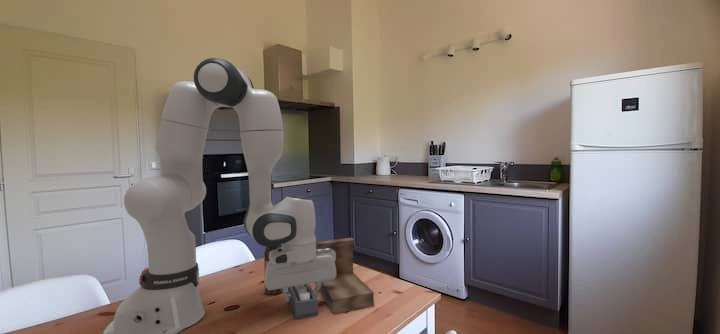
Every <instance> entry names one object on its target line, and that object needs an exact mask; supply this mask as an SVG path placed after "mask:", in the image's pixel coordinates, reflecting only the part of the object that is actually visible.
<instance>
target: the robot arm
mask: <svg viewBox="0 0 720 334" xmlns="http://www.w3.org/2000/svg"><path fill="white" fill-rule="evenodd" d="M215 110H235V111H236V113H237V116H238V119H239V132H240V133H239V135H240V144H241V149H242V153H243V157H244V161H245V165H246V169H247V176H248V179H247V181H248V199H249V201H248V202H249V203H248V207H247V209H246V213H245V215H244V218H243V227H244V230H245V232H246V234H248V235H249V236H250V237H251V238H252V239H253V240H254V241H255V242H256V243H257V244H258V245H260V246H262V247H265V248H266V247H272V246H276V245H279V244H281V247H279V248H277V249H275V250H272V251H270V252H269V260H270V261H269V262H268V263H267V266H266V271H265V278H264V288H265V287H266V288H267V289H268V290H275V289H281V288H282V291H283V292H282V293H283V295H284V296H285V302H286V303H290V302H292V295H291V294H288V287H293V286H300V285H306V284H309V285H312V284H315V287H314V289H312V290H313V292H314V293H315V295H316V297H317V298H318V297H319V289H320V287H321V282H324V281H330V280H334V279H335V278H336V266H335V260H336V252H335V251H334V250H333V249H331V248H326V249H317V238H316V235H315V233H316V232H315V230H316V212H315V211H316V209H315V205H314V202H313V201H314V200H312V199H311V198H309V197H307V196H304V195H303V196H302V195H296V194H295V195H294V194H292V195H291V194H289V195H287V196H286V197H284V199H282V200H281V201H280V202H278V203H276V204H275V205H274V204H273V201H272V172H273V169H274V167H275V165H276V164H277V163H278V161H279V160H280V159H281V157H282V155H283V151H284V142H285V141H284V140H285V139H284V128H283V127H284V126H283V124H284V123H283V118H282V113H281V108H280V104H279V101H278V98H277V96H276V95H275V94H274V93H273V92H272V91H269V90H266V89H262V88H261V89H260V88H257V89H256V88H254V84H253V82H252V80H251V78H250V77H249V76H248V75H247V74H246V73H245V72H244V71H243V70H242V69H241V68H239V67H238V66H236V65H234V64H233V63H231V61H228V60H226V59H223V58H220V57H218V58H217V57H211V58H206V59H204V60H203V61H201V62H199V64H198V65H197V66H196V67H195V69H194V72H193V81H190V80H189V81H188V80H184V81H183V80H182V81H178V82H176V83H175V84H173V85H172V88H171V89H170V91H169V93H168V96H167V98H166V101H165V105H164V106H163V111H162V114H161V119H160V124H159V127H158V133H157V137H156V143H155V151H156V152H157V154H158V156H159V159H160V163H161V164H160V165H161V167H160V168H161V174H160V175H156V176H149V177H146V178H144V179H141V180H139V181H137V182H135V183H133V184H132V185H130V186H129V187H128V188H127V190H126V191H125V194H124V197H123V205H124V208H125V211H126V212H127V214H128V215H129V216H130V217H132V218H133V219H134V220H136V222H138V224H139V225H140V228H141V230H142V232H143V236H144V238H145V242H146V248H147V249H146V250H147V263H148V267H145V268H144V269H143V270H142V271H141V275H140V276H139V279H138V281H139V282H138V285H140V286H139V287H138V288H137V289H136V290H134V291H133V292H132V293H131V294H130V295H128V296H127V297H126V298H125V299H123V300H122V301H121V303H120V304H119V305H118V306H117V309H116V311H115V313H114V318H113V320H112V321H111V322H110V323H109V324H108V325H107V326H106V327H105V328H104V329H103V332H102V334H178V333H179V332H181V331H183V330H185V329H186V328H189V327H191V326H194V325H195V324H196V323H198V322H199V321H200V320H202V318H203V317H204V316H205V313H206V311H205V308H204V306H203V302H202V299H201V295H200V290H199V289H200V288H199V284H200V268H199V263H197V246H196V245H197V244H196V236H195V233H193V232H192V231H191V230H190V228H189V226H188V222H187V219H186V215H185V214H186V212H190V211H191V210H193V209H195V208H196V207H198V206H199V205H200V204H201V203H203V201H204V200H205V198H206V196H207V187H206V184H205V182H204V178H203V177H204V176H203V160H204V159H203V158H204V151H205V145H206V141H207V135H208V131H209V127H210V122H211V117H212V115H213V113H214V111H215ZM283 244H284V245H283Z"/></svg>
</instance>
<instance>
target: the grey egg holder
mask: <svg viewBox="0 0 720 334" xmlns="http://www.w3.org/2000/svg"><path fill="white" fill-rule="evenodd" d="M313 290H314V289H313V288H312V287H311V284H306V285H300V286H293V287H288V291H287V293H288V294H291V295H292V302H289V305H290V308H291V310H292V313H293V315H294V318H295V320H297V321H298V320H302V319H303V320H304V319H308V318H313V317H318V316H319V299H318V297H316V295H315V293H314V292H313Z"/></svg>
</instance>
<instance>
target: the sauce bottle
mask: <svg viewBox="0 0 720 334" xmlns="http://www.w3.org/2000/svg"><path fill="white" fill-rule="evenodd" d="M281 246H282V244H279V245H276V246H272V247H265V249H264V255H263V256H264V261H263V262H264V263H263V264H264V267H263V268H264V272H263V273H264V274H263V275H264V279H265V271H266V266H267V263H268V262H269V261H270V260H269V252H270V251H272V250H275V249H277V248H279V247H281ZM264 288H265V290H264V291H265V293H266V294H268V295H279V294H280V293H283V291H282V288H281V289H275V290H268V289H267V288H266V287H265V286H264Z"/></svg>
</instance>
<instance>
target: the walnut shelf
mask: <svg viewBox="0 0 720 334" xmlns="http://www.w3.org/2000/svg"><path fill="white" fill-rule="evenodd" d="M353 245H356V242H355V238H353V237H345V238H338V239H329V240H322V241H316V249H326V248H331V249H333V250H334V251H335V252H336V260H335V266H336V278H335V279H334V280H330V281H324V282H321V287H320V289H319V291H318V293H320V295H321V297H322V298H323V300H324V302H325V303H326V305H327V306H328V308H329V310H330V311H331V313H332V314H333V315H335V314H341V313H347V312H352V311H356V310H362V309H364V308H371V307H375V301H374V299H375V298H374V295H375V293H374V291H373V290H372V289H371V288H370V287H369V286H368V285H367V284H366V283H365V282H363V280H361V278H360V277H358V275H356V274H355V272H354V250H353V249H354V246H353Z"/></svg>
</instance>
